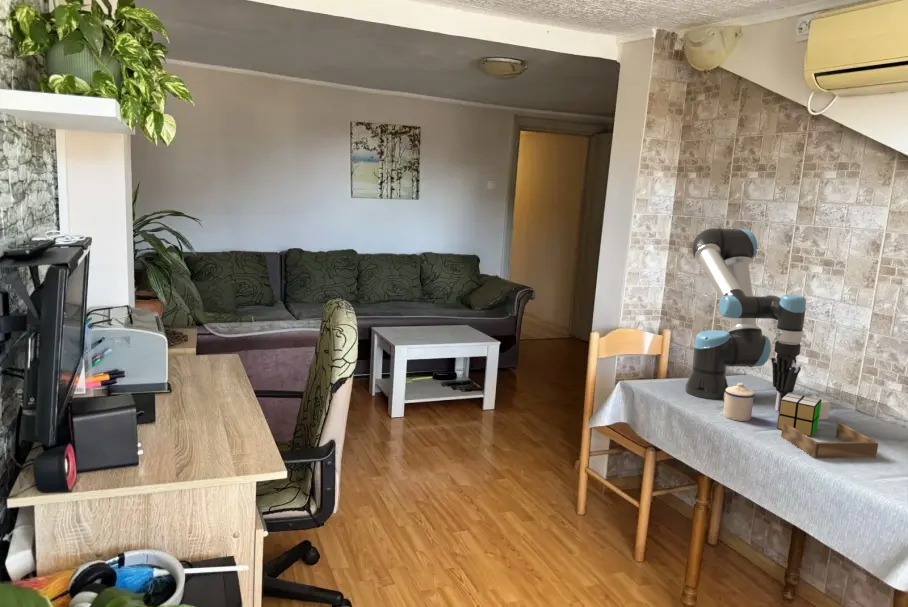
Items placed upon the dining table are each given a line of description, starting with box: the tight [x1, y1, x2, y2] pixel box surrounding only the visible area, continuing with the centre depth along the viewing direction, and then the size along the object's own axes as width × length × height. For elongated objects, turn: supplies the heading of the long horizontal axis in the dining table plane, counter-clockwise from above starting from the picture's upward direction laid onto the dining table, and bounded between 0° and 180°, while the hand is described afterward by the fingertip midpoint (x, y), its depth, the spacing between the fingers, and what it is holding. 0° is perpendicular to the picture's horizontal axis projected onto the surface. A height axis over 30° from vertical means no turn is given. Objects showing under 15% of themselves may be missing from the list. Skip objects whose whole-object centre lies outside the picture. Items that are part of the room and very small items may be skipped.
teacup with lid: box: [722, 382, 756, 422], centre depth 216 cm, size 12×9×12 cm
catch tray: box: [780, 422, 879, 459], centre depth 191 cm, size 16×19×4 cm
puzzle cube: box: [776, 392, 822, 438], centre depth 205 cm, size 10×10×10 cm
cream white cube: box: [812, 395, 832, 421], centre depth 218 cm, size 6×6×6 cm
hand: (780, 410), depth 216 cm, fingers closed
